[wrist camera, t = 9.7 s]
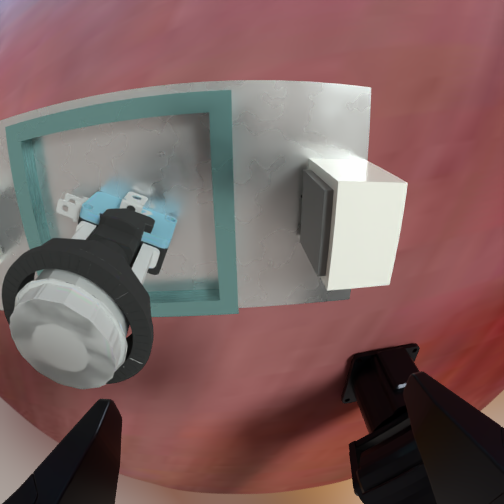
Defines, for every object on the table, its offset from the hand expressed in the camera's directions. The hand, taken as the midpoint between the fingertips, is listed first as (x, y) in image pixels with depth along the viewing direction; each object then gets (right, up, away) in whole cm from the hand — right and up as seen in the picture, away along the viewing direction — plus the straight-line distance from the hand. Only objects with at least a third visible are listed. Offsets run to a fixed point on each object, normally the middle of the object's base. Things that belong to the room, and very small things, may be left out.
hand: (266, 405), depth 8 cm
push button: (-7, +6, +8) cm, 13 cm away
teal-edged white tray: (-7, +7, +9) cm, 14 cm away
